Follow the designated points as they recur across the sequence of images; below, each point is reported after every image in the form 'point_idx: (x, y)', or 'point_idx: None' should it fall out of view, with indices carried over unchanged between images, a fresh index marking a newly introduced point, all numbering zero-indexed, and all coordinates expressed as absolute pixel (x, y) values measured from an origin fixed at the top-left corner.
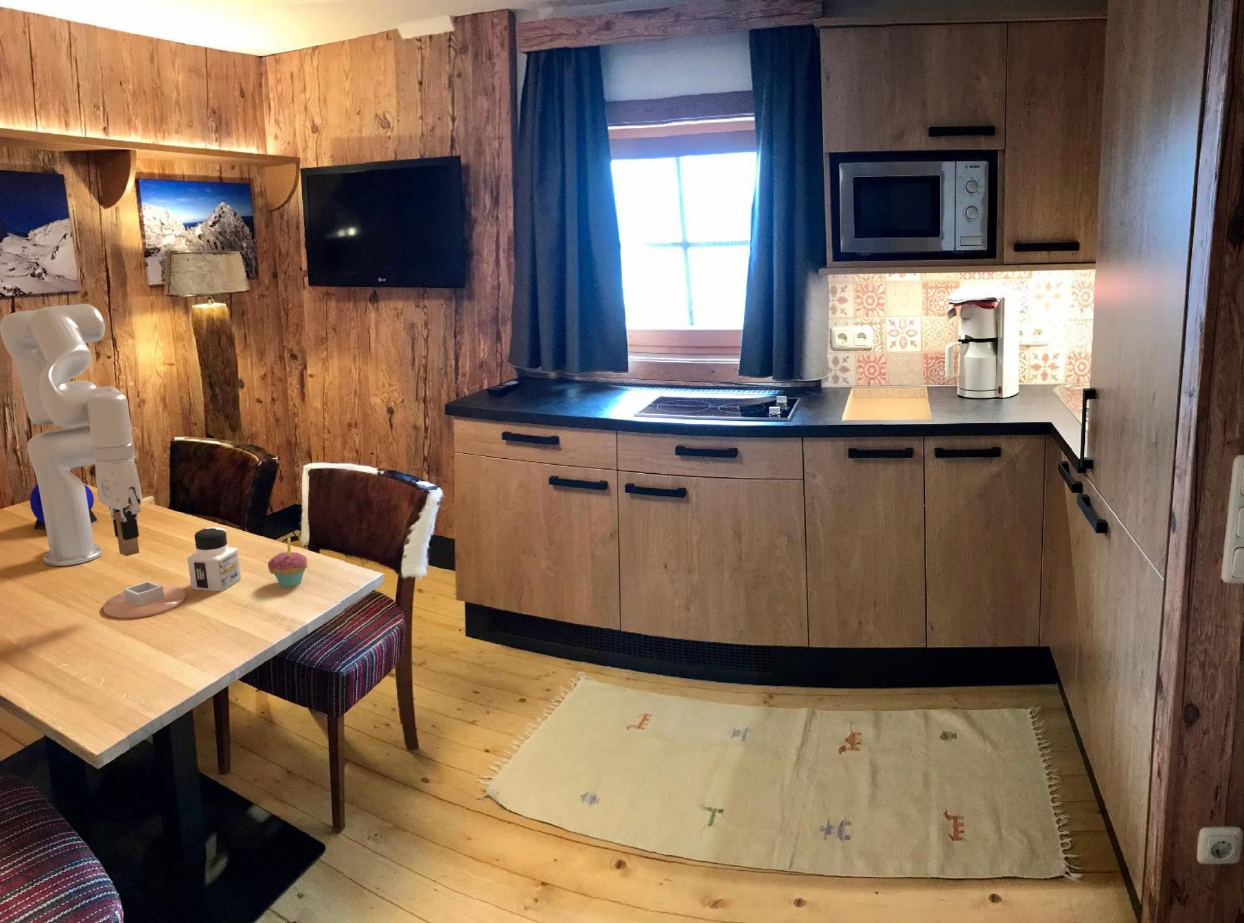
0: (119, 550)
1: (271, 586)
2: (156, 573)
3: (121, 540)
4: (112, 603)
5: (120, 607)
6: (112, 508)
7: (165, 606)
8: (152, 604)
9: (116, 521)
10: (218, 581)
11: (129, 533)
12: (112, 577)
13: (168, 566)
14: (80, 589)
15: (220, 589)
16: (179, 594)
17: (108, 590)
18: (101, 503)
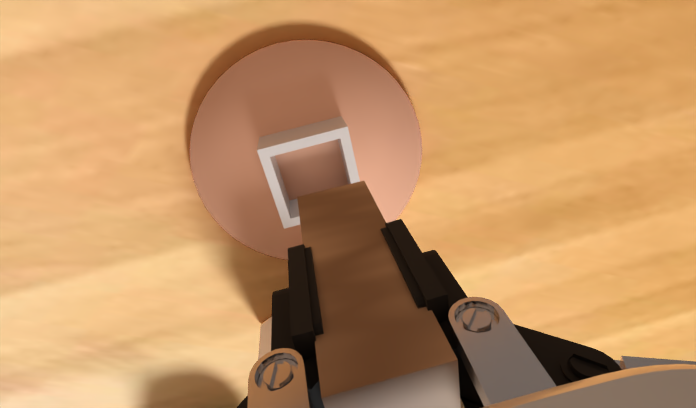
0: (365, 188)
1: (224, 403)
2: (510, 232)
3: (337, 230)
4: (348, 77)
5: (294, 89)
6: (496, 391)
7: (214, 198)
8: (256, 173)
9: (408, 303)
10: (262, 341)
11: (275, 302)
12: (582, 135)
13: (531, 263)
14: (573, 31)
15: (261, 326)
16: (288, 246)
17: (494, 100)
18: (639, 374)
